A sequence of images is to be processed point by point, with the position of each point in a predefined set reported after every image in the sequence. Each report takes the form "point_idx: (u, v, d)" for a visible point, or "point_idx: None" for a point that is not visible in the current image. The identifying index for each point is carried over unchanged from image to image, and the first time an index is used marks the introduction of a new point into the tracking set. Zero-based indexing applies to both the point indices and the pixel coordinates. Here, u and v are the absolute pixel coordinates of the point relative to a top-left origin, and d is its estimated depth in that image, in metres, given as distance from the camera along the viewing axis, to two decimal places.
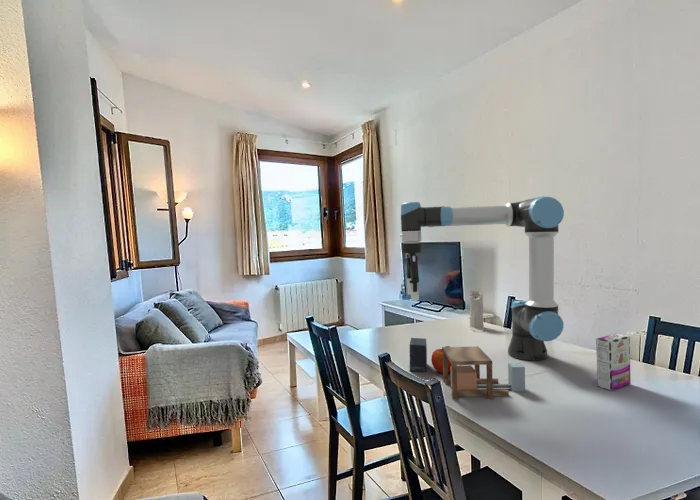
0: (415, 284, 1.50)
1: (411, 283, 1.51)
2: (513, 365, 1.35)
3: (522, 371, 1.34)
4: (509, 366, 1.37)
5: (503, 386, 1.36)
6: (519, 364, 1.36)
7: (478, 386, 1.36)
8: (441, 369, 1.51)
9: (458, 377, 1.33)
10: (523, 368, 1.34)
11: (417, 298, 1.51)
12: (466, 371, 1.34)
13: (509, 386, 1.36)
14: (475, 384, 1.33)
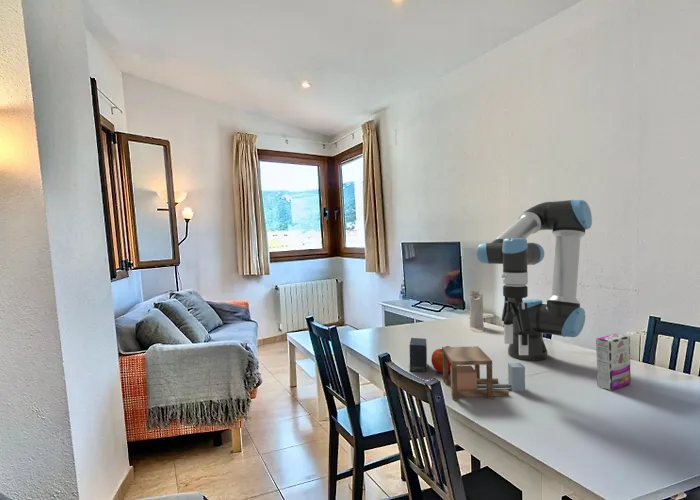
0: (525, 336, 1.27)
1: (520, 335, 1.28)
2: (513, 365, 1.35)
3: (522, 371, 1.34)
4: (509, 366, 1.37)
5: (503, 386, 1.36)
6: (519, 364, 1.36)
7: (478, 386, 1.36)
8: (441, 369, 1.51)
9: (458, 377, 1.33)
10: (523, 368, 1.34)
11: (526, 352, 1.28)
12: (466, 371, 1.34)
13: (509, 386, 1.36)
14: (475, 384, 1.33)
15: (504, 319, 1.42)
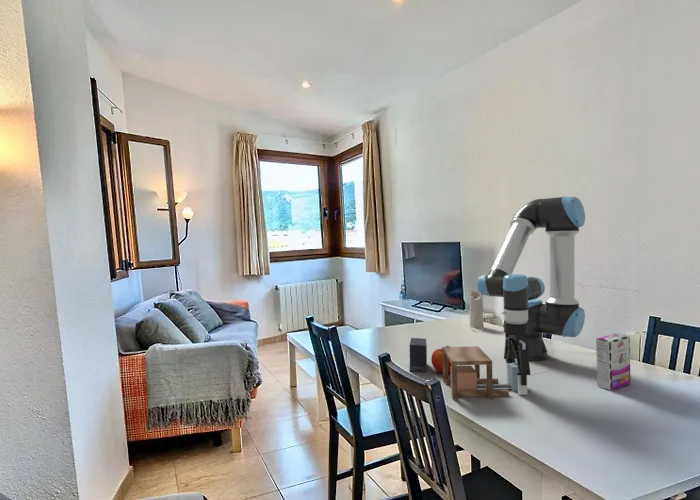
0: (524, 377, 1.29)
1: (519, 375, 1.30)
2: (513, 365, 1.35)
3: None
4: (509, 366, 1.37)
5: (503, 386, 1.36)
6: None
7: (478, 386, 1.36)
8: (441, 369, 1.51)
9: (458, 377, 1.33)
10: None
11: (525, 392, 1.30)
12: (466, 371, 1.34)
13: (509, 386, 1.36)
14: (475, 384, 1.33)
15: (506, 357, 1.42)
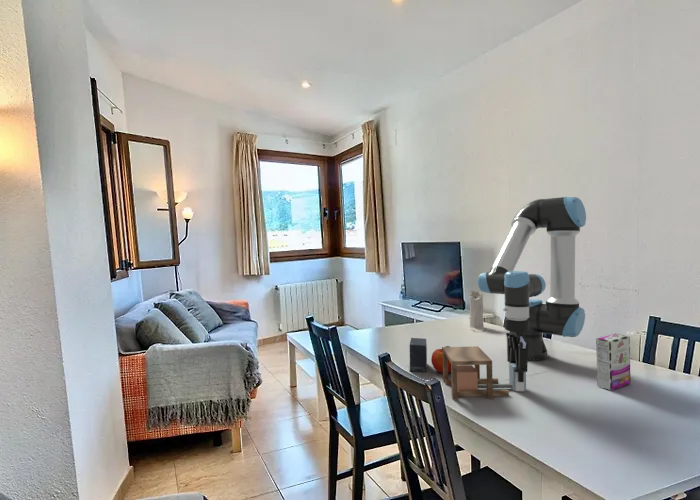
0: (521, 374, 1.32)
1: (516, 372, 1.33)
2: (514, 365, 1.35)
3: None
4: (510, 366, 1.37)
5: (504, 386, 1.36)
6: None
7: (479, 386, 1.36)
8: (441, 369, 1.51)
9: (459, 377, 1.33)
10: None
11: (522, 389, 1.33)
12: (467, 371, 1.34)
13: (510, 386, 1.36)
14: (476, 384, 1.33)
15: (509, 359, 1.39)
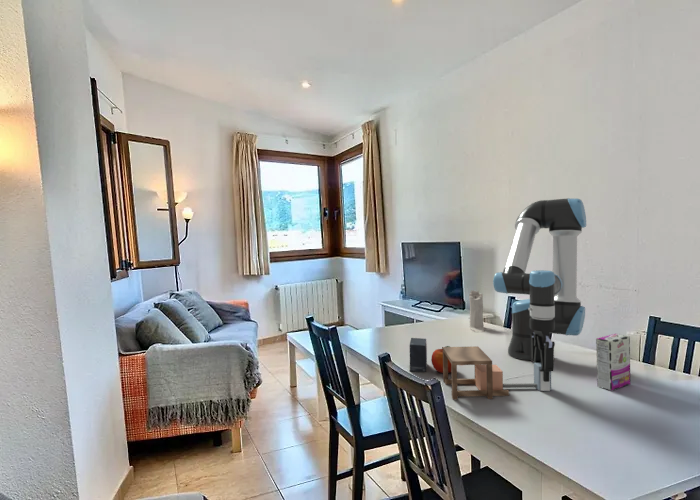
0: (547, 373, 1.32)
1: None
2: (539, 364, 1.35)
3: None
4: (535, 365, 1.36)
5: (529, 385, 1.35)
6: None
7: (504, 385, 1.36)
8: (441, 369, 1.51)
9: (484, 376, 1.33)
10: None
11: (548, 388, 1.33)
12: (492, 370, 1.34)
13: (535, 385, 1.35)
14: (501, 383, 1.33)
15: (534, 359, 1.39)
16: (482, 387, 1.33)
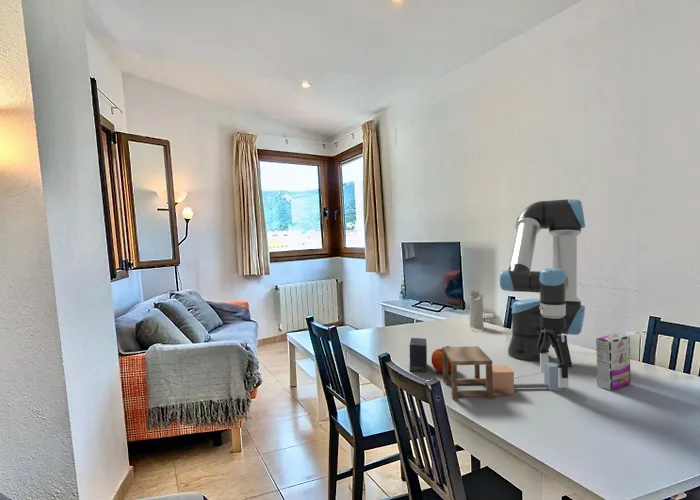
0: (566, 369, 1.27)
1: (559, 367, 1.28)
2: (550, 365, 1.35)
3: None
4: (545, 366, 1.36)
5: (540, 386, 1.35)
6: (555, 364, 1.36)
7: (514, 386, 1.35)
8: (441, 369, 1.51)
9: (495, 377, 1.33)
10: None
11: (566, 385, 1.29)
12: (503, 371, 1.33)
13: (546, 386, 1.35)
14: (512, 384, 1.32)
15: (540, 348, 1.43)
16: (493, 388, 1.33)
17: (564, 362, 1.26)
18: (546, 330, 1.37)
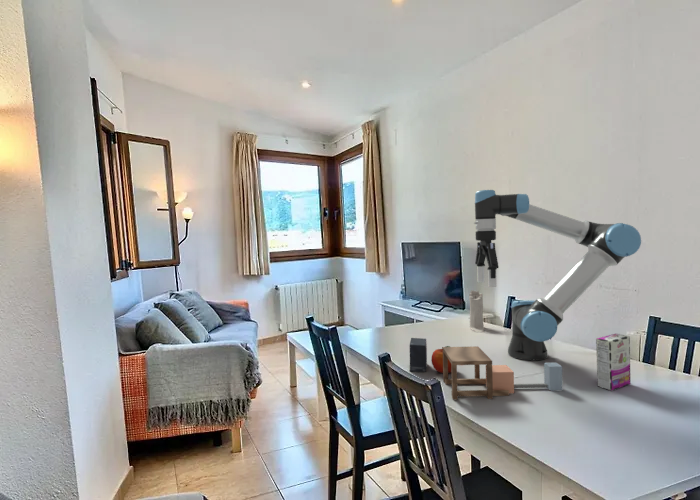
0: (493, 271, 1.51)
1: (489, 270, 1.53)
2: (550, 364, 1.35)
3: (560, 371, 1.33)
4: (545, 366, 1.36)
5: (540, 386, 1.35)
6: (555, 363, 1.36)
7: (514, 386, 1.35)
8: (441, 369, 1.51)
9: (495, 377, 1.33)
10: (560, 367, 1.33)
11: (495, 285, 1.53)
12: (503, 370, 1.33)
13: (546, 386, 1.35)
14: (512, 384, 1.32)
15: (477, 262, 1.67)
16: (493, 388, 1.33)
17: (492, 263, 1.50)
18: (481, 244, 1.62)
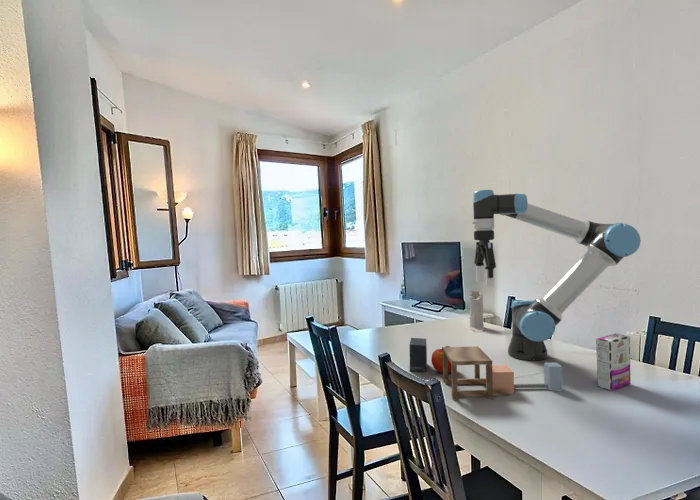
0: (491, 270, 1.52)
1: (486, 269, 1.53)
2: (550, 365, 1.35)
3: (560, 371, 1.33)
4: (545, 366, 1.36)
5: (540, 386, 1.35)
6: (555, 364, 1.36)
7: (514, 386, 1.35)
8: (441, 369, 1.51)
9: (495, 377, 1.33)
10: (560, 368, 1.33)
11: (492, 284, 1.54)
12: (503, 371, 1.33)
13: (546, 386, 1.35)
14: (512, 384, 1.32)
15: (476, 261, 1.68)
16: (493, 388, 1.33)
17: (489, 263, 1.51)
18: (479, 243, 1.62)
